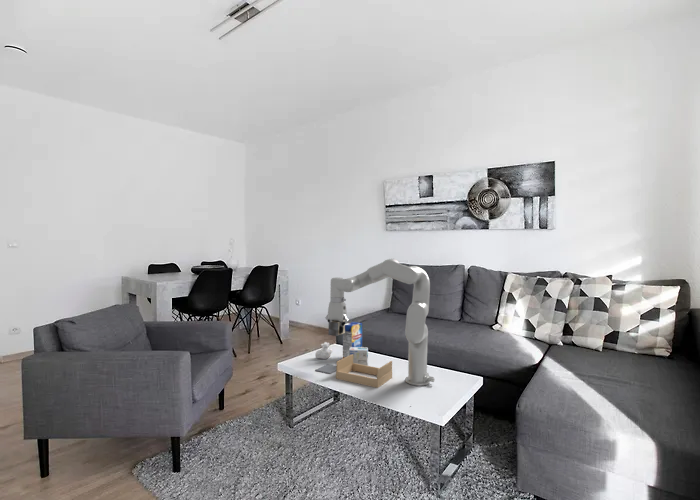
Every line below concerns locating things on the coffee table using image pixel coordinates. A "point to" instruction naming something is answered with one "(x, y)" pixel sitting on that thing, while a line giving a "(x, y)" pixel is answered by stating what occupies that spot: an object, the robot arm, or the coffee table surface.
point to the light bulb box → (359, 355)
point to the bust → (324, 351)
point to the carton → (347, 366)
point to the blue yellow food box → (352, 337)
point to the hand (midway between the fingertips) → (336, 332)
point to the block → (335, 328)
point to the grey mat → (327, 369)
